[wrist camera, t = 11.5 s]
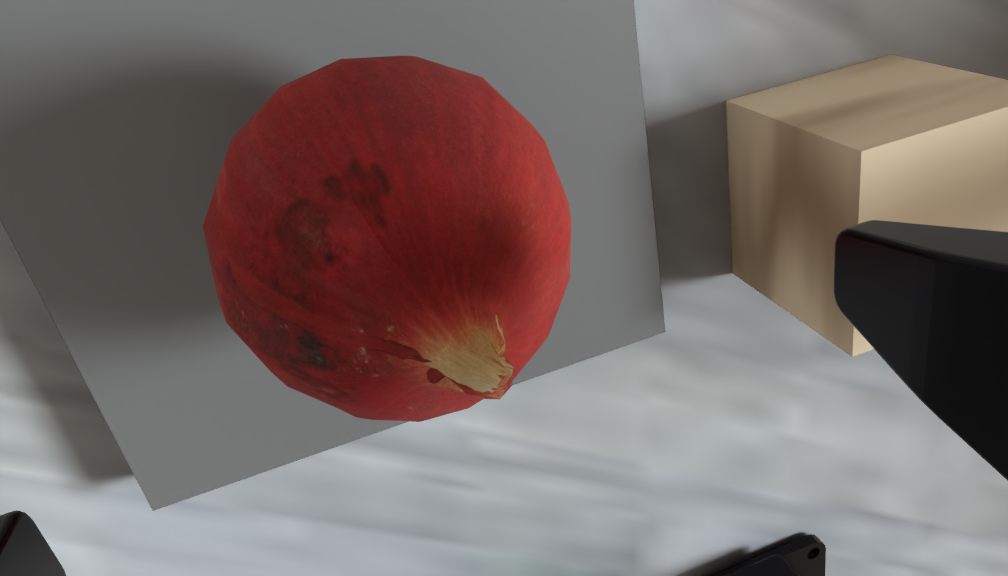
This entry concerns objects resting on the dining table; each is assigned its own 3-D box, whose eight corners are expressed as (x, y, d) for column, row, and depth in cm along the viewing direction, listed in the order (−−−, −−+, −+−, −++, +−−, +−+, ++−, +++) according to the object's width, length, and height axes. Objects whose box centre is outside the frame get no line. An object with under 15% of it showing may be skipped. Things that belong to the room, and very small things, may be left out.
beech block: (879, 223, 24) (1026, 293, 20) (731, 272, 23) (852, 356, 19) (888, 53, 22) (1058, 90, 17) (724, 100, 20) (861, 151, 16)
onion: (235, 313, 17) (260, 609, 10) (174, 33, 14) (155, 192, 8) (497, 267, 19) (665, 499, 12) (488, 6, 16) (700, 118, 9)
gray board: (638, 306, 22) (665, 331, 21) (156, 470, 20) (153, 510, 18) (575, -252, 16) (607, -266, 15) (-142, -122, 13) (-180, -125, 12)
